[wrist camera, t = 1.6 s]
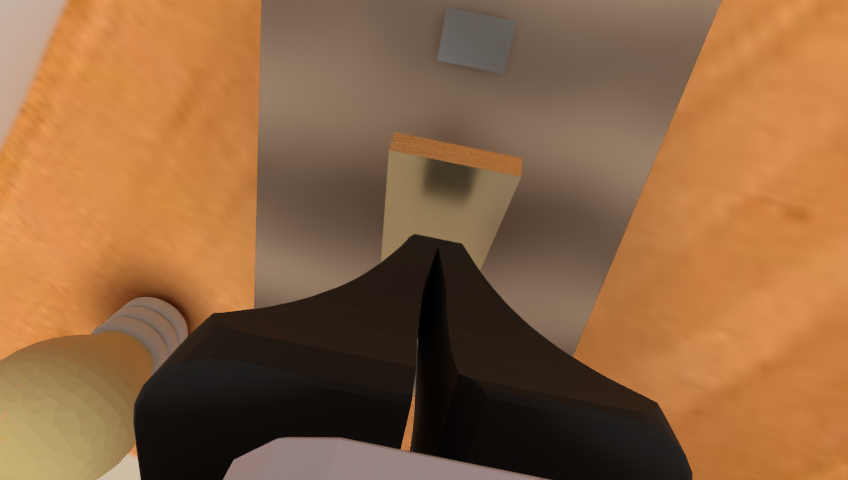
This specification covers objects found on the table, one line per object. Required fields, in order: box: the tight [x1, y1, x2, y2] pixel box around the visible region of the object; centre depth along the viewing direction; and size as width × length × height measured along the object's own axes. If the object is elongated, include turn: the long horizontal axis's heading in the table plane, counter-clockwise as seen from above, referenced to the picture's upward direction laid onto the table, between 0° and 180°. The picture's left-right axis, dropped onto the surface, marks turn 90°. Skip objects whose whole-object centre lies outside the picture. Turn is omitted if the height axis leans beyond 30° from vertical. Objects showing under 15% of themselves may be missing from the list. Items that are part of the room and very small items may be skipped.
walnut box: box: [254, 0, 722, 396], centre depth 18 cm, size 18×14×6 cm
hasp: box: [381, 132, 522, 345], centre depth 15 cm, size 11×3×1 cm, turn 170°
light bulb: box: [0, 297, 188, 480], centre depth 21 cm, size 6×6×10 cm
